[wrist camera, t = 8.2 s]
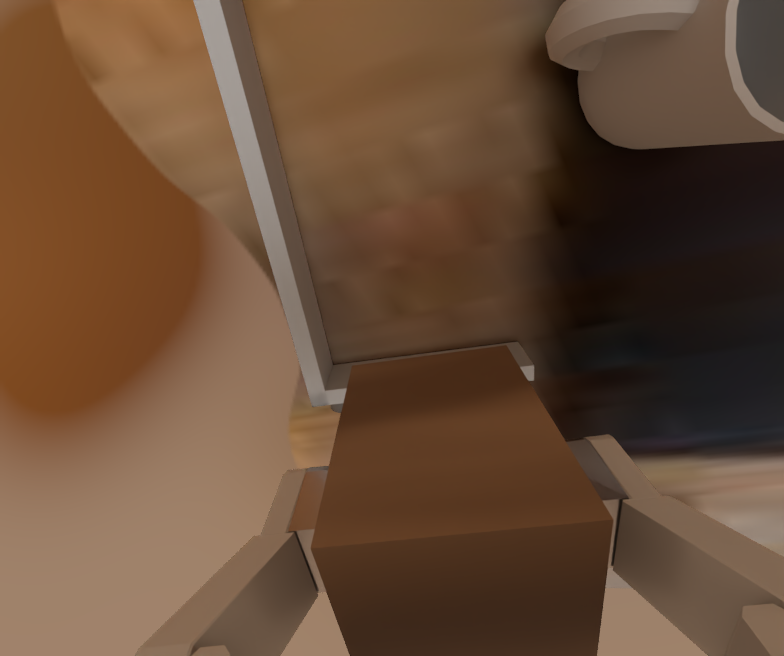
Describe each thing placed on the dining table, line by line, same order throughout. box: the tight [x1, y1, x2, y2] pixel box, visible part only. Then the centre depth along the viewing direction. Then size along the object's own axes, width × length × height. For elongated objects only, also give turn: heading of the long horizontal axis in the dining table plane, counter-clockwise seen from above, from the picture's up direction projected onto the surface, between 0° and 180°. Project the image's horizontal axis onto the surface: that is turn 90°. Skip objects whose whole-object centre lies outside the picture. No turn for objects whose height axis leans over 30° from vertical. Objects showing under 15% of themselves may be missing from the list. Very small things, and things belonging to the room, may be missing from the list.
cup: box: [545, 0, 784, 149], centre depth 13 cm, size 7×10×9 cm
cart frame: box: [193, 0, 534, 413], centre depth 18 cm, size 25×13×3 cm, turn 9°
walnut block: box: [310, 345, 614, 656], centre depth 8 cm, size 4×4×5 cm
